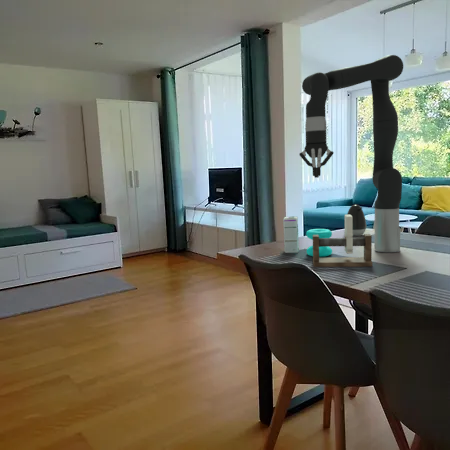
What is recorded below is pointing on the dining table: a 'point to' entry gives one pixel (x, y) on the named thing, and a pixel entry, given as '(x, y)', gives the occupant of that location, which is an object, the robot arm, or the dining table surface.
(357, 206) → the dark grey egg shape
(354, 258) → the pipe stand
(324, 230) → the donuts
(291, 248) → the syrup box
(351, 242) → the white tall bar
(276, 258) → the dining table surface
